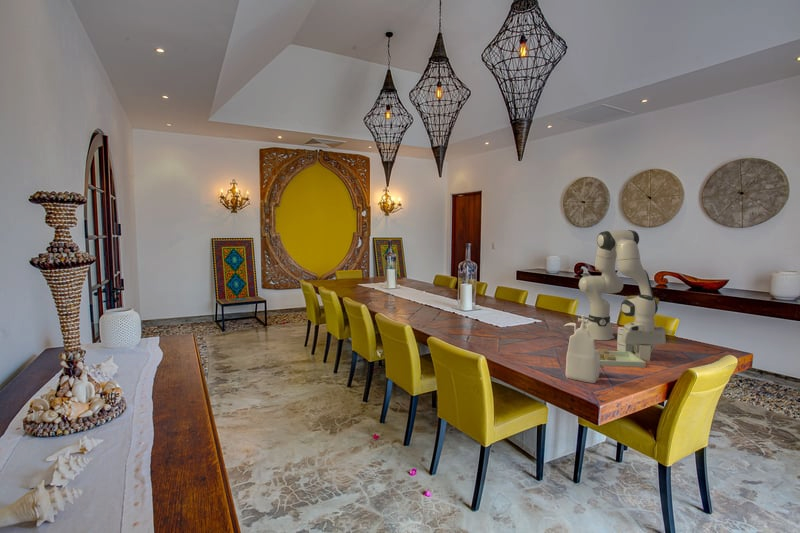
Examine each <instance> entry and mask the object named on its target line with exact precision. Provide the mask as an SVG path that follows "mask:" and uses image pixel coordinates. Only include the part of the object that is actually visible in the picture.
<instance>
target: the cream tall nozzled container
mask: <svg viewBox="0 0 800 533" xmlns="http://www.w3.org/2000/svg"><path fill="white" fill-rule="evenodd" d="M580 322H581V323H580ZM577 323H580V327H579V328H577ZM577 323H575V322H568V323H566V324H565V325H563V327H566V326H572V327H574V328H573V329H574V330H573V331H574V333H573V334H572V335H570V336H569V340H568V341H569V342H568V347H567V352H566V359H565V360H566V362H565V363H566V364H565V378H566V379H568V378H569V380H574V381H580V382H584V383H589V384H595V383H596V382H597V381H598V379H599V378H600V367H601V366H600V355H599V354H598V353H599V351H598V349H596V346H595V345H596V344H595V343H596V342H595V341H596V340H594V339H593V338H591V337H590V334H589V331H588V330H587V329H585V323H588V318H587V319H586V315H584V314H583V315H581V318H580V317H578V318H577Z"/></svg>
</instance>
